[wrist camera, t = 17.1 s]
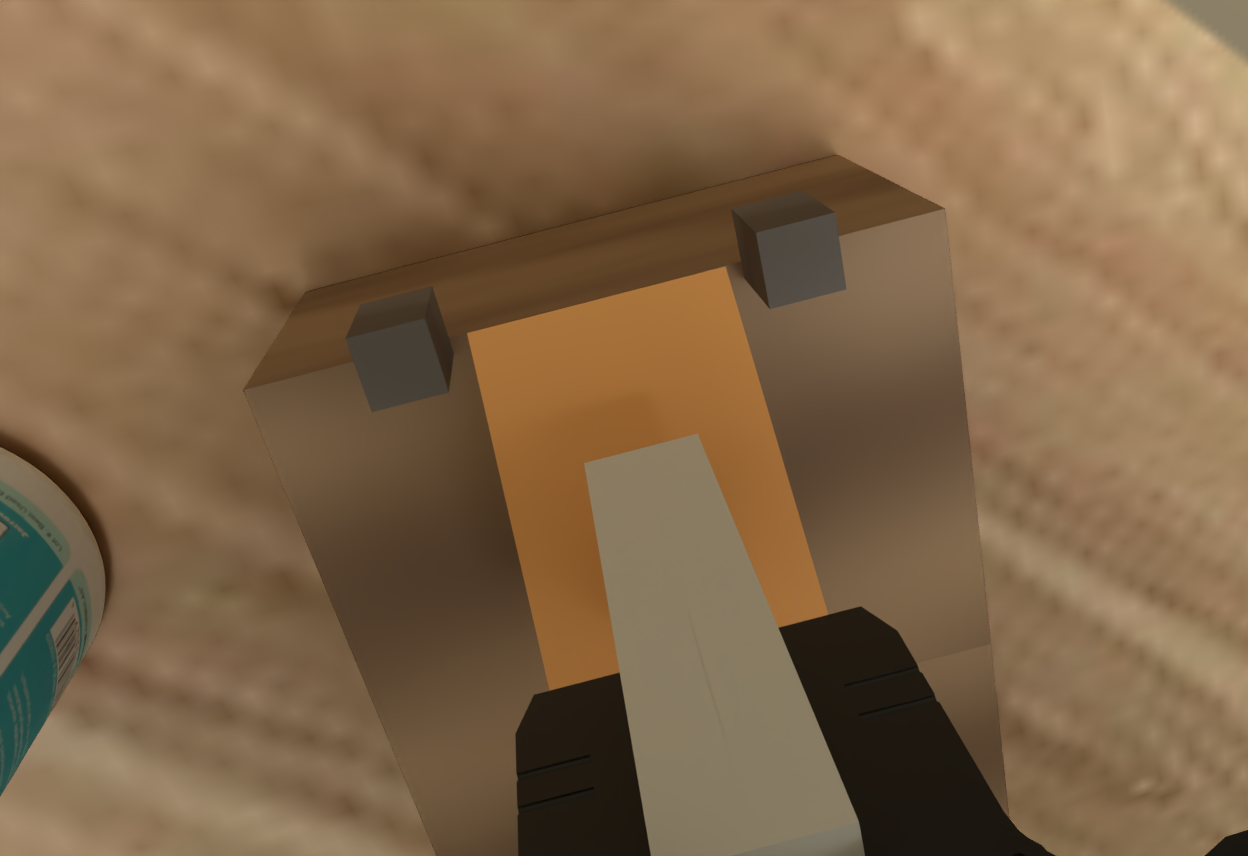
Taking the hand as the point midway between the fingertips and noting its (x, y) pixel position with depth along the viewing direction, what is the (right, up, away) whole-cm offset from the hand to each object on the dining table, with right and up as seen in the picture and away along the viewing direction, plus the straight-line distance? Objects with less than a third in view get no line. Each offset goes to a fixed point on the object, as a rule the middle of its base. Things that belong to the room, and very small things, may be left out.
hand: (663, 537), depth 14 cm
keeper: (0, 0, +2) cm, 2 cm away
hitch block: (0, -1, +12) cm, 12 cm away
